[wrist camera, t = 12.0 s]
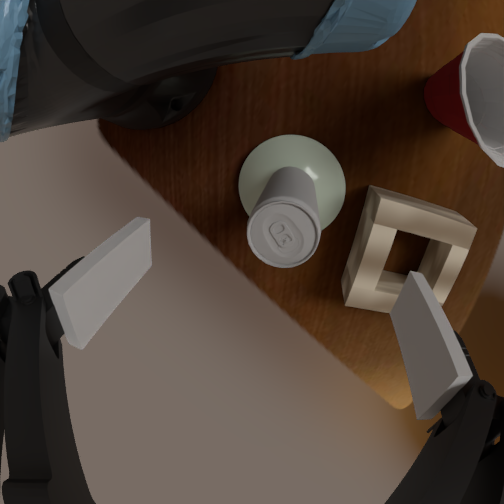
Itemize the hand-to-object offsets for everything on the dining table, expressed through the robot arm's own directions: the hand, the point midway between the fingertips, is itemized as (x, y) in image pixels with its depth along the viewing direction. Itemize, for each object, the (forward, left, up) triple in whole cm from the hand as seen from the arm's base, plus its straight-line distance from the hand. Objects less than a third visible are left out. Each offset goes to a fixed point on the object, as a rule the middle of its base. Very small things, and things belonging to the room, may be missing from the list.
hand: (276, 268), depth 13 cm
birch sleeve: (+4, +14, -18) cm, 23 cm away
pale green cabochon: (0, 0, -18) cm, 18 cm away
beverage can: (0, 0, -17) cm, 17 cm away
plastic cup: (-14, +15, -18) cm, 27 cm away
